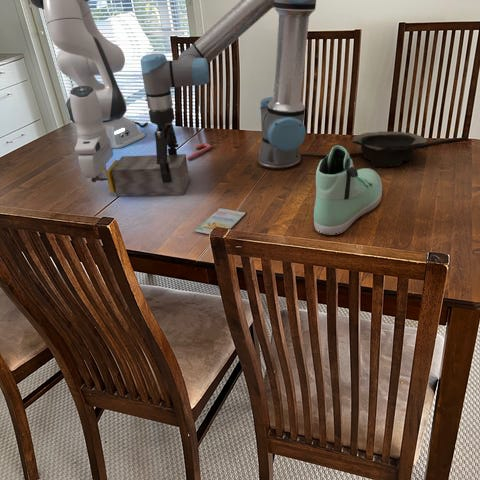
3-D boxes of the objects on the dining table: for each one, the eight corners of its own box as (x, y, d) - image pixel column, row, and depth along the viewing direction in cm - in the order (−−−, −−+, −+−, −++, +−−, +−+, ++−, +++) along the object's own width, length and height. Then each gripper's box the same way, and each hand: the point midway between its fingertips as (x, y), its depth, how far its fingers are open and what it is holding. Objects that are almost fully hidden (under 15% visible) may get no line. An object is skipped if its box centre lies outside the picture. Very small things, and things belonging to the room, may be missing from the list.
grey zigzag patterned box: (117, 196, 157) (111, 170, 152) (127, 181, 167) (122, 156, 162) (183, 194, 155) (179, 167, 150) (189, 179, 164) (185, 154, 159)
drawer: (92, 193, 158) (87, 173, 154) (102, 180, 167) (98, 160, 163) (171, 191, 155) (168, 170, 151) (178, 178, 164) (175, 157, 160)
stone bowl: (385, 177, 154) (386, 150, 149) (337, 159, 174) (336, 134, 170) (441, 159, 162) (444, 132, 158) (389, 143, 183) (390, 119, 178)
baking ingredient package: (194, 230, 133) (219, 207, 144) (194, 231, 133) (219, 208, 144) (222, 235, 129) (246, 211, 141) (222, 237, 129) (246, 213, 141)
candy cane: (177, 158, 182) (177, 154, 181) (202, 145, 192) (201, 141, 191) (189, 161, 179) (189, 157, 178) (214, 147, 189) (213, 144, 188)
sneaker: (389, 187, 148) (396, 123, 138) (356, 242, 123) (361, 168, 112) (346, 181, 154) (350, 119, 144) (306, 232, 129) (307, 161, 118)
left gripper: (94, 129, 163) (103, 167, 170) (72, 151, 145) (83, 192, 152) (112, 128, 162) (121, 166, 169) (92, 150, 144) (102, 192, 152)
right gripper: (157, 98, 157) (167, 160, 168) (138, 121, 136) (151, 190, 148) (180, 97, 156) (188, 159, 167) (164, 120, 136) (175, 189, 147)
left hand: (103, 179), depth 161 cm, fingers closed, pressing on drawer
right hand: (171, 174), depth 157 cm, fingers closed on grey zigzag patterned box, 11 cm apart
